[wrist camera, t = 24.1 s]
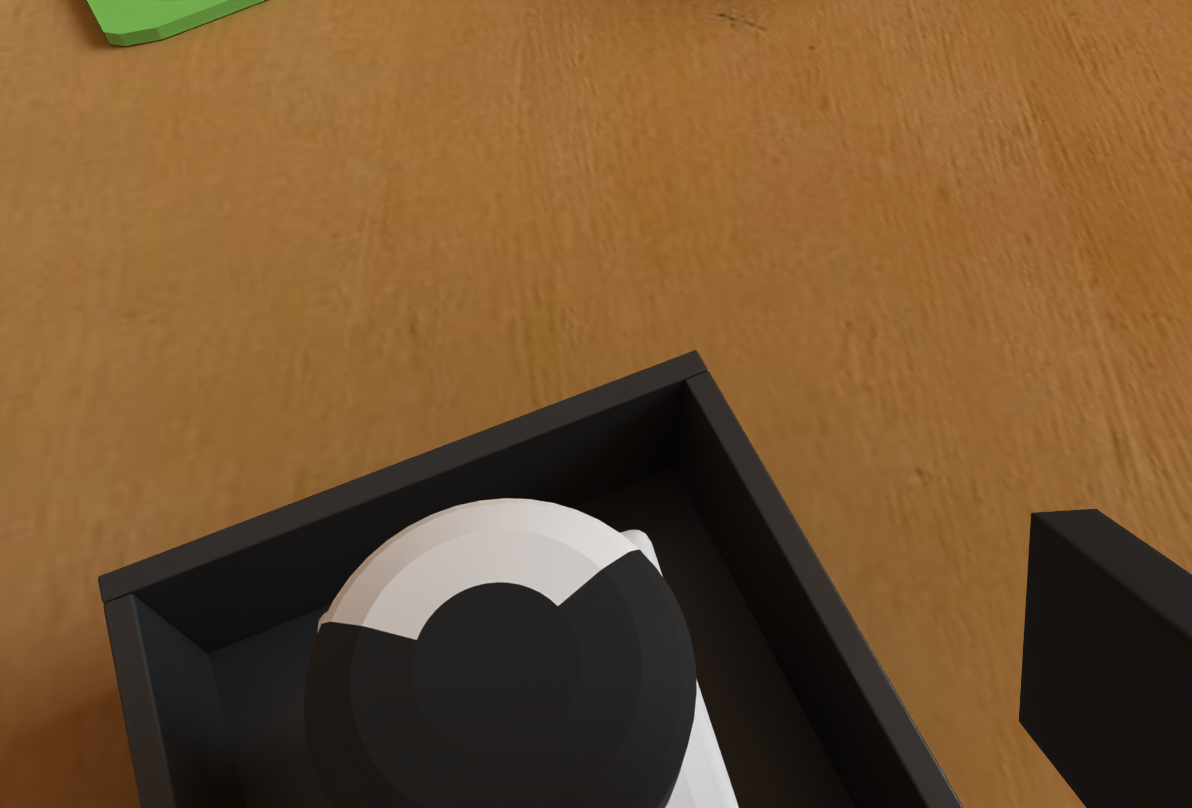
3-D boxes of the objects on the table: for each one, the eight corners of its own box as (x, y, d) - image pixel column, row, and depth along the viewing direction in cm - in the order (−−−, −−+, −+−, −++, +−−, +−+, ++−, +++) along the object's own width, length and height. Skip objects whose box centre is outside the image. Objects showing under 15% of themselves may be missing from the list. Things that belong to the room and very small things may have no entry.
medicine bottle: (726, 905, 24) (812, 845, 13) (432, 999, 23) (280, 1013, 12) (639, 625, 27) (654, 404, 17) (382, 696, 26) (230, 510, 16)
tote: (965, 978, 24) (1064, 977, 18) (344, 1316, 21) (254, 1426, 16) (682, 454, 31) (696, 348, 26) (192, 651, 28) (96, 576, 23)
